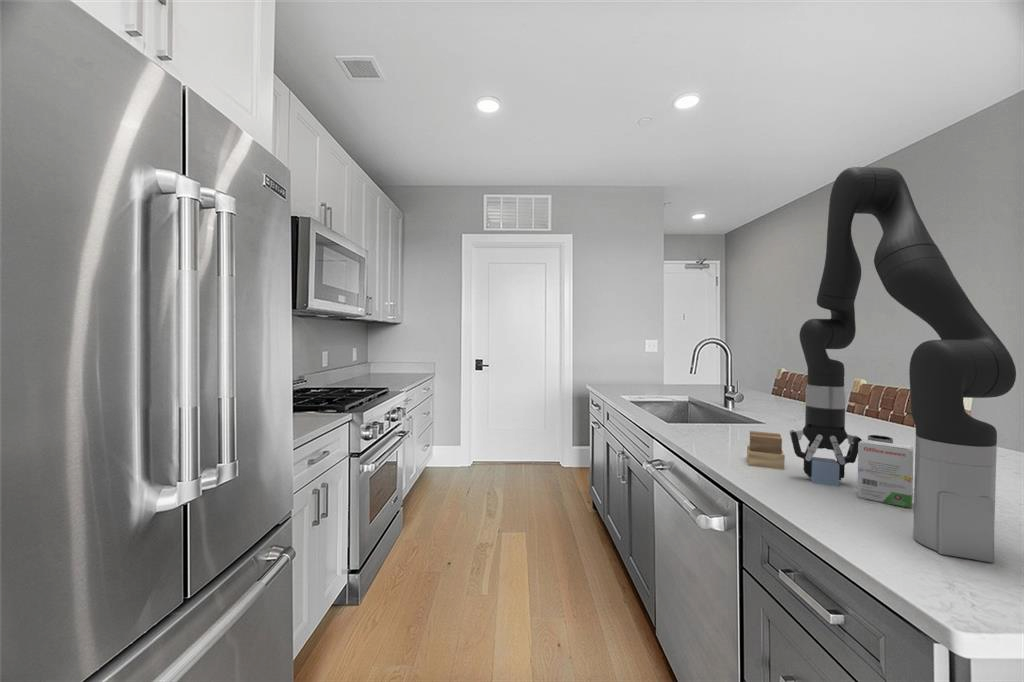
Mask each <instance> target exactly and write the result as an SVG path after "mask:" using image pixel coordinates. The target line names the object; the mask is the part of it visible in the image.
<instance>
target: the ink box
mask: <svg viewBox="0 0 1024 682" xmlns="http://www.w3.org/2000/svg"><path fill="white" fill-rule="evenodd" d="M856 481H857V482H856V483H857V485H856V487H857V489H856V497H858V498H861V499H866V500H870V501H875V502H879V503H882V504H889V505H894V506H897V507H903V508H906V509H911V508H912V506H913V500H914V446H912V445H905V444H897V443H893V444H892V443H885V442H878V441H871V440H868V439H861V441H860V442H859V443H858V454H857V479H856Z"/></svg>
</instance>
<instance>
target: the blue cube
mask: <svg viewBox="0 0 1024 682" xmlns="http://www.w3.org/2000/svg"><path fill="white" fill-rule="evenodd" d="M811 461H812V476H811V477H808V478H809V480H810V481H811V483H812V484H817V485H823V484H824V485H826V486H831V485H832V486H833V487H840V481H839V464H838V462H837V459H836V458H830V457H829V458H828V457H817V456H813V457H812V459H811Z"/></svg>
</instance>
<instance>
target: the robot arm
mask: <svg viewBox="0 0 1024 682" xmlns="http://www.w3.org/2000/svg"><path fill="white" fill-rule="evenodd" d="M912 197H913V196H912V195H911V192H910V190H909V186H908V185H907V182H906V180H905V178H904V177H903V175H902V173H900V171H898V169H894V168H891V167H884V166H883V167H882V166H880V167H879V166H878V167H877V166H876V167H875V166H874V167H873V166H852V167H848V168H846V169H844V170H843V171H841V172H840V173H839V174H838V176H837V177H836V179H835V180H834V182H833V185H832V187H831V191H830V196H829V205H828V216H827V217H828V218H827V232H826V249H825V259H824V266H823V272H822V275H821V280H820V284H819V287H818V292H817V296H816V305H817V306H819V308H822V309H824V310H829V311H830V318H810V319H808V320H806V321H804V323H803V324H802V325H801V327H800V330H799V336H798V337H799V342H800V345H801V349H802V353H803V356H804V360H805V364H806V367H807V377H806V379H807V382H806V383H807V385H806V389H805V390H806V391H805V398H804V402H805V403H804V404H805V417H804V418H805V422H804V427H803V428H802V430H794V429H793V430H792V429H791V430H790V431H789V436H790V439H791V442H792V448H793V451H794V453H795V456H796V457H798V458H801V459H803V471H804V474H805V475H806V476H807V477H808V478H809V477H811V476H812V461H811V459H812V457H814V455H815V453H816V452H817V451H818V449H820V450H822V449H823V450H824V449H826V450H829V451H832V452H833V454H834V456H835V460H836V461H837V462H838V464H839V482H841V481H842V479H844V478H845V465H847V464H854V463H855V462H856V461H857V458H858V443H859V442H860V441H861V440H862V438H861V437H859V436H858V435H851V434H848V432H847V431H846V428H845V427H846V392H845V374H846V373H845V365H844V363H843V362H841V361H840V360H837V359H832V358H830V357H829V355H828V353H827V350H842V349H846V348H848V347H849V346H850V345H851V344H852V343H853V341H854V339H855V337H856V333H857V332H856V329H857V328H856V326H857V325H856V310H855V301H856V298H857V294H858V290H859V287H860V284H861V281H862V265H861V261H860V258H859V255H858V253H857V249H856V247H855V245H854V241H853V235H852V226H853V225H852V224H853V219H854V216H855V214H863V215H864V214H866V215H872V216H874V217H875V218H876V220H877V222H878V223H879V225H880V226H881V229H882V236H881V239H880V241H879V242H878V245H877V247H876V248H875V249H876V250H875V252H874V256H873V257H874V258H873V265H874V268H875V271H876V273H877V275H878V277H879V279H880V281H881V284H882V286H883V287H884V289H885V291H886V292H887V293H888V295H889V296H890V297H891V298H893V299H894V300H895V301H896V302H897V303H898V304H900V305H901V306H903V307H904V308H905V309H906V310H908V311H910V312H911V313H913V314H915V316H917V317H918V318H919V319H920V320H922V321H924V322H925V323H927V325H929V326H930V327H931V328H932V329H933V330H934V332H935V333H936V334H937V335H938V337H939V338H940V339H931V340H927V341H923V342H921V343H920V344H919V345H917V347H916V348H915V349H914V350H913V352H912V355H911V357H910V361H909V368H908V369H909V370H908V371H909V373H908V375H909V395H910V413H911V418H912V420H913V423H914V427H915V446H914V450H915V452H914V453H915V454H914V481H913V530H912V532H913V535H912V536H913V540H915V541H916V542H918V543H920V545H923V546H925V547H927V548H929V549H932V550H934V551H936V552H937V553H938V554H940V555H945V556H952V557H957V558H964V559H969V560H975V561H981V562H988V563H993V562H994V557H995V534H996V533H995V525H996V524H995V523H996V521H995V520H996V516H995V515H996V490H997V489H996V488H997V486H996V485H997V484H996V483H997V481H996V480H997V451H998V449H997V447H998V446H997V445H998V443H997V442H998V431H997V429H996V427H995V426H993V425H992V424H990V423H988V422H986V421H982V420H980V419H976V418H974V417H973V416H971V415H970V414H968V413H967V411H966V409H965V404H964V398H967V399H969V398H974V399H982V398H983V399H985V398H986V399H989V398H996V397H997V398H998V397H1002V396H1003V395H1006V394H1008V392H1010V391H1011V390H1012V389H1013V387H1014V385H1015V382H1016V379H1017V369H1016V365H1015V362H1014V359H1013V357H1012V356H1011V352H1010V351H1009V350H1008V348H1007V347H1006V346H1005V344H1004V343H1003V342H1002V341H1001V340H1000V337H999V336H998V335H997V334H996V333H995V332H994V330H993V329H992V328H991V326H989V324H988V323H987V322H986V320H984V318H983V317H982V316H981V314H980V313H979V312H978V311H977V309H976V308H975V306H974V305H973V304H972V302H971V301H970V299H969V297H968V296H967V294H966V292H965V291H964V290H963V287H961V285H960V283H959V282H958V280H957V279H956V276H955V275H954V273H953V271H952V269H951V267H950V266H949V264H948V262H947V260H946V258H945V257H944V255H943V254H942V252H941V250H940V249H939V247H938V245H937V244H936V243H935V241H934V240H933V238H932V237H931V234H930V233H929V231H928V229H927V227H926V226H925V223H924V222H923V220H922V218H921V216H920V214H919V213H918V209H917V208H916V206H915V203H914V200H913V198H912ZM802 436H804V437H805V438H806V439H807V441H808V443H807V446H806V449H805V451H802V449H801V445H800V441H801V440H802V439H803V437H802ZM845 440H847V444H849V446H848V450H847V453H846V455H845V456H844V455H843V451H842V449H841V447H840V445H842V444H843V443H844V442H845Z"/></svg>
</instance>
